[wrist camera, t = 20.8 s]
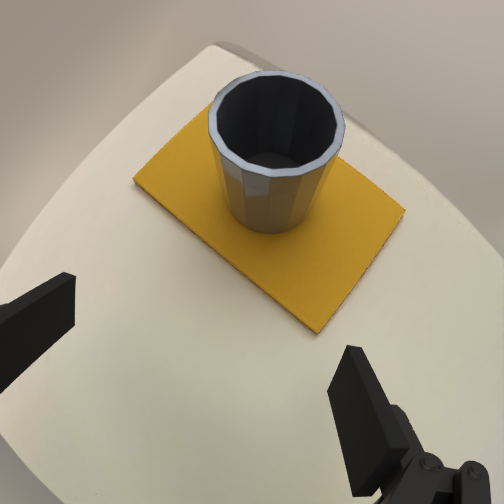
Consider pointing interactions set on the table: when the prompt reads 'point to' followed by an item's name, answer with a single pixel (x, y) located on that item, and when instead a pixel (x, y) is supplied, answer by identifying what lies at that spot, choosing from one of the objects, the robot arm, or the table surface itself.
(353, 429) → the robot arm
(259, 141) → the steel tumbler
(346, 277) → the mat
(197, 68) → the table surface
